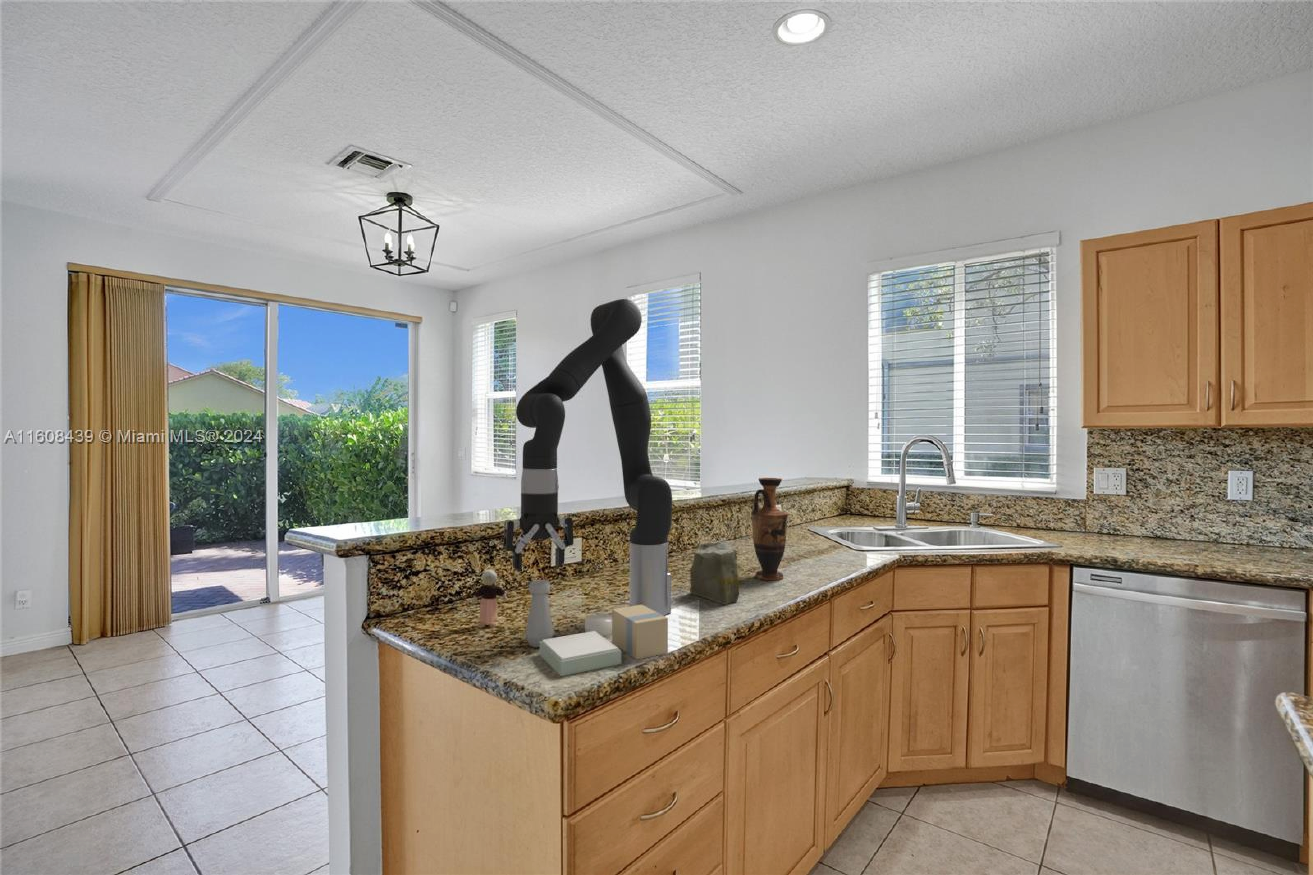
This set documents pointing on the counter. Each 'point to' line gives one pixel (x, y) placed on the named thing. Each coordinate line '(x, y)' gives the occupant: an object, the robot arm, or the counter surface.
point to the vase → (769, 531)
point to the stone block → (715, 572)
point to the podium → (579, 653)
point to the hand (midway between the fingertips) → (538, 568)
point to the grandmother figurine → (488, 599)
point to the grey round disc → (599, 624)
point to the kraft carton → (640, 631)
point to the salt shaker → (539, 614)
